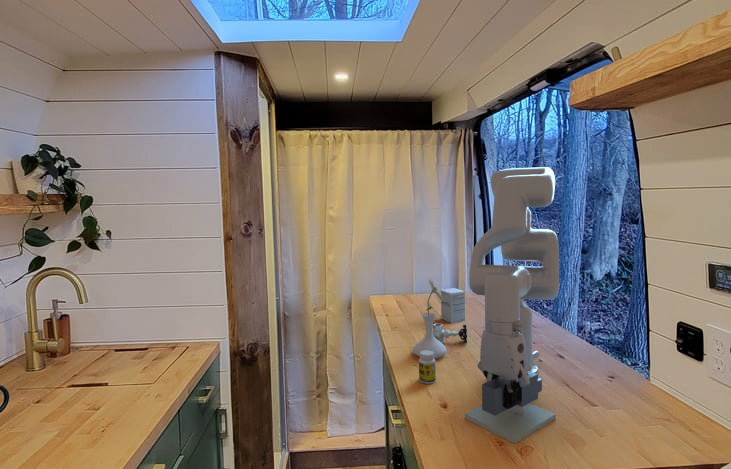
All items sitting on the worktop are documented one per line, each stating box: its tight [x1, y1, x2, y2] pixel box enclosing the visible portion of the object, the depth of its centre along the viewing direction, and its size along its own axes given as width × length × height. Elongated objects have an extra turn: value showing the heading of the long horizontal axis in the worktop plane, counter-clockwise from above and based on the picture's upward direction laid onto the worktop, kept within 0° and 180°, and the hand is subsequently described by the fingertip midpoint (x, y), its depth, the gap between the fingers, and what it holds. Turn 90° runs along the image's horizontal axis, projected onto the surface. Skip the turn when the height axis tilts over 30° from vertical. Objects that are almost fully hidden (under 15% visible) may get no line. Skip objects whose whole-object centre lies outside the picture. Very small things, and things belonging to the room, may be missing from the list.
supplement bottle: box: [418, 350, 437, 385], centre depth 128 cm, size 5×5×8 cm
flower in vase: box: [412, 279, 448, 359], centre depth 147 cm, size 13×11×25 cm
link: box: [481, 371, 543, 416], centre depth 104 cm, size 18×6×6 cm, turn 126°
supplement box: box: [440, 287, 466, 324], centre depth 184 cm, size 7×7×13 cm
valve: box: [433, 322, 468, 344], centre depth 158 cm, size 7×7×12 cm
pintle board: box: [464, 403, 557, 445], centre depth 107 cm, size 20×15×6 cm
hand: (502, 402), depth 102 cm, fingers closed on link, 3 cm apart
